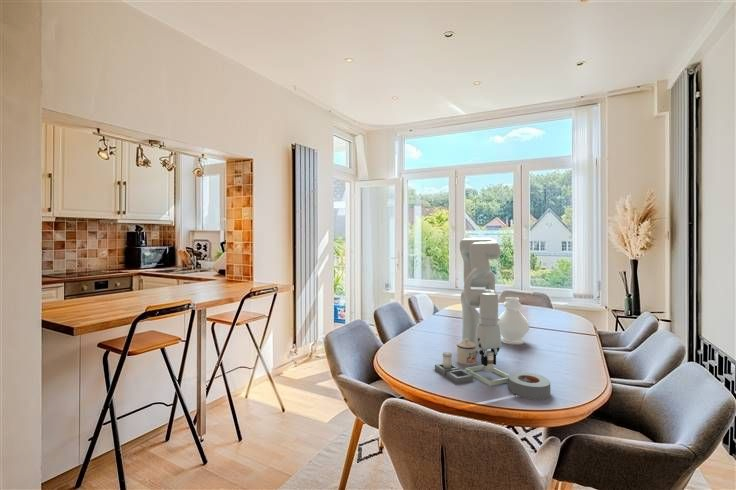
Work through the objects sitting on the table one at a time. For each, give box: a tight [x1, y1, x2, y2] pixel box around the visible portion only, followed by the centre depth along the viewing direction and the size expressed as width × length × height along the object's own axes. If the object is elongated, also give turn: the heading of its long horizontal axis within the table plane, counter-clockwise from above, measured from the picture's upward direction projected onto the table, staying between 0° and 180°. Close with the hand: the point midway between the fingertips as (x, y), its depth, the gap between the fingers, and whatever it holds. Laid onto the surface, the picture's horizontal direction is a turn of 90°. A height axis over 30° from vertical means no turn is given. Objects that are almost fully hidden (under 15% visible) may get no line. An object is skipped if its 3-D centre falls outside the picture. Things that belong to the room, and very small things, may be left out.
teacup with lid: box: [456, 339, 477, 366], centre depth 173 cm, size 12×9×12 cm
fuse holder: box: [432, 362, 476, 386], centre depth 155 cm, size 18×10×3 cm, turn 22°
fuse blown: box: [483, 349, 495, 373], centre depth 153 cm, size 4×4×8 cm
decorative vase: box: [498, 296, 530, 345], centre depth 207 cm, size 18×18×25 cm
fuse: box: [442, 351, 453, 369], centre depth 160 cm, size 4×4×8 cm
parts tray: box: [464, 364, 509, 387], centre depth 154 cm, size 12×16×2 cm
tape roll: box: [507, 371, 551, 401], centre depth 141 cm, size 15×15×5 cm
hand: (488, 363), depth 153 cm, fingers closed on fuse blown, 3 cm apart
